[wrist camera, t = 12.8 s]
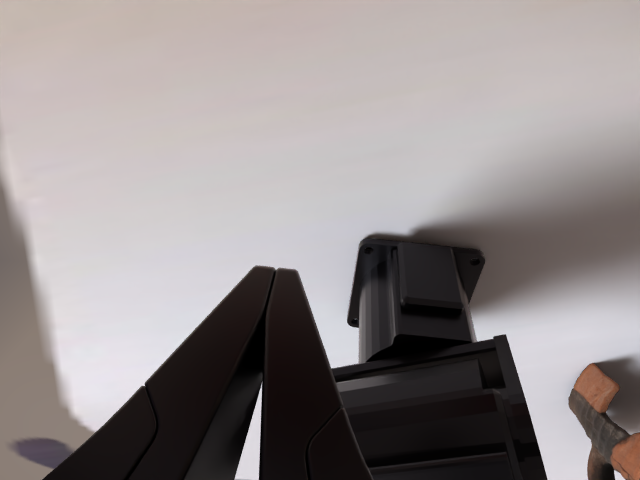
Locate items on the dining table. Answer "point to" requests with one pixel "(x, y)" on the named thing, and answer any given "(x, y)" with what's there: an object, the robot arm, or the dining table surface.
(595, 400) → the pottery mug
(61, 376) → the dining table surface
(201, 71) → the dining table surface
